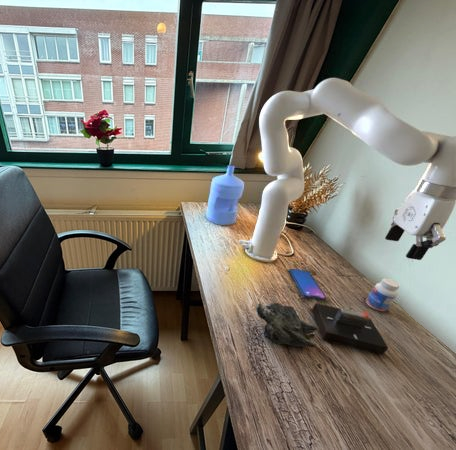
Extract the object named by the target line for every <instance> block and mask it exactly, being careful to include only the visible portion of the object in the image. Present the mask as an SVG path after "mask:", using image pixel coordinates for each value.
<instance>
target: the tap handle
mask: <svg viewBox="0 0 456 450" xmlns="http://www.w3.org/2000/svg"><path fill="white" fill-rule="evenodd" d="M335 319H336V322H339V323H343V324H347V325H351V326H355V327H359V328H364V327H365V325H366V324H367V322H368V321H369V319H371V317H370V315H369V313H368V312H361V311H357V310H353V309H349V308H344V307H340V310H339V311H338V313H337V315H336V317H335Z"/></svg>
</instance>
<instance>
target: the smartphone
mask: <svg viewBox="0 0 456 450" xmlns="http://www.w3.org/2000/svg"><path fill="white" fill-rule="evenodd" d="M288 272H289V274H290V275H291V277H292V280H293V281H294V283H295V284H296V286H297V287H298V290H299V291H300V293H301V295H302V296H303V298H306V299H311V300H318V301H326V300H327V296H326V295H325V293H324V292H323V290H322V289H321V287H320V286H319V284H318V283H317V281H316V280H315V278H314V277H313V275H312V274H311V272H310V271H308V270H306V269H305V270H304V269H297V268H290V269H289V270H288Z"/></svg>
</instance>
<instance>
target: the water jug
mask: <svg viewBox="0 0 456 450" xmlns="http://www.w3.org/2000/svg"><path fill="white" fill-rule="evenodd" d="M235 167H236V166H235V165H230V164H229V165H227V169H226V173H225V174H221V175H217V176H214V177H212V179H211V180H212V181H211V183H210V189H209V197H208V201H207V208H206V213H205V218H206V219H207V220H208V221H209V222H210V223H213V224H215V225H220V226H230V225H231V226H232V225H233V224H235V223H236V222H237V218H238V212H239V208H238V205H239V199H241V198H242V197H243V192H244V189H245V182H244V181H243V180H242V179H241V178H239V177H237V176H236V175H234V171H235Z"/></svg>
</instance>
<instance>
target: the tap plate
mask: <svg viewBox="0 0 456 450" xmlns="http://www.w3.org/2000/svg"><path fill="white" fill-rule="evenodd" d="M340 308H341V307H340ZM340 308H339V307H335V306H330V305H327V304H323V303H317V302H314V305H313V307H312V309H311V311H312V314H313V317H314V320H315V322H316V326H317V327H318V328H319V330H318V331H319V334H320V336H321V339H322V340H323V341H327V342H330V343H335V344H339V345H343V346H346V347H350V348H354V349H358V350H362V351H366V352H370V353H373V354H377V355H381V356H383V355H384V354H385V353H386V351H387V350H388V349H389V347H388V345H387V343H386V341H385V340H384V338H383V336H382V335H381V334H380V331H379V330H378V328H377V326H376V324H375V323H374V321H373V320H372V318H370V319H369V321H368V322H367V324H366V325H365V327H364V328H359V327H355V326H351V325H347V324H343V323H339V322H336V319H335V317H336V315H337V313H338V311H339V310H340Z"/></svg>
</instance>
